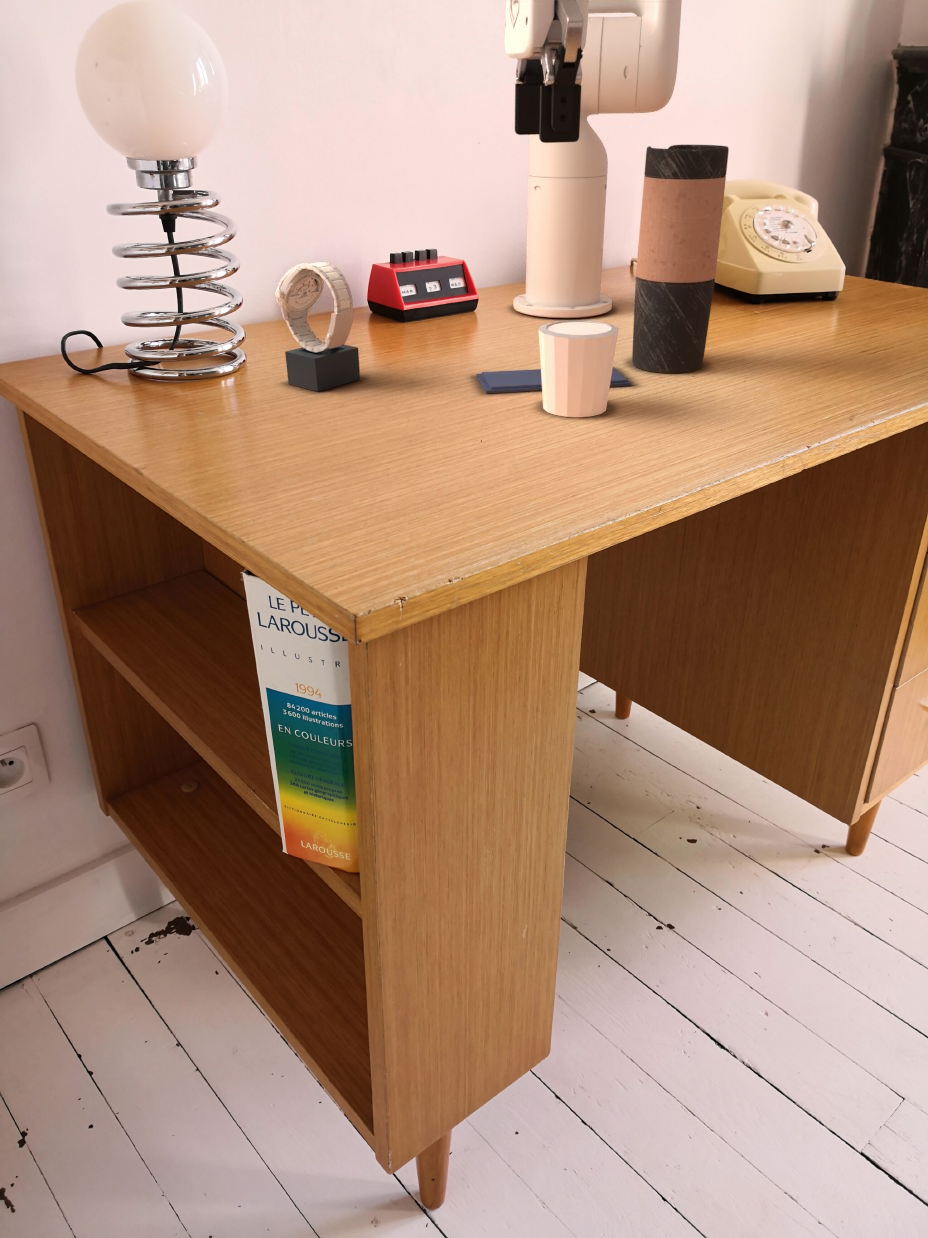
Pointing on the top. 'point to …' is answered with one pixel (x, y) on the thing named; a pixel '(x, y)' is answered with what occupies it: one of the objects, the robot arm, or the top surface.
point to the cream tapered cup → (576, 366)
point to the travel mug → (677, 255)
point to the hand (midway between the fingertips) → (545, 137)
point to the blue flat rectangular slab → (527, 380)
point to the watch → (315, 359)
